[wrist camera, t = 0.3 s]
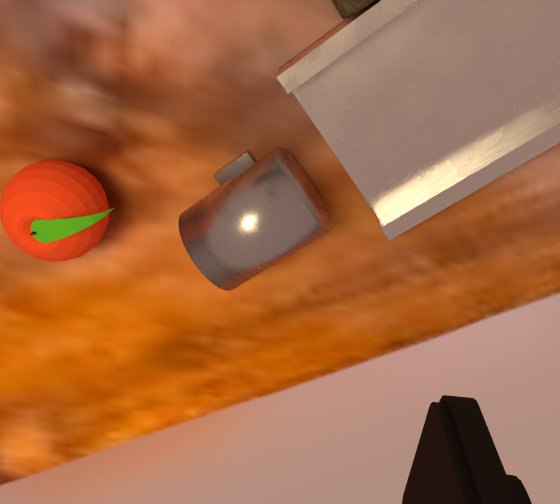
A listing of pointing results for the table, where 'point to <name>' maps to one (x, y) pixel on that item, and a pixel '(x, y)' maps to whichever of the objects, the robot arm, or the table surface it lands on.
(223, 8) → the table surface
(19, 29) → the table surface
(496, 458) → the robot arm
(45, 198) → the clementine
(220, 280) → the duct stub
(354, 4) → the brown knobbed club
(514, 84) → the cradle
